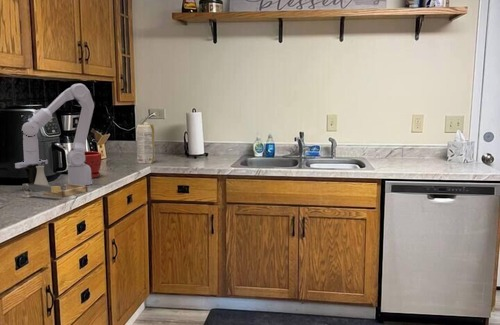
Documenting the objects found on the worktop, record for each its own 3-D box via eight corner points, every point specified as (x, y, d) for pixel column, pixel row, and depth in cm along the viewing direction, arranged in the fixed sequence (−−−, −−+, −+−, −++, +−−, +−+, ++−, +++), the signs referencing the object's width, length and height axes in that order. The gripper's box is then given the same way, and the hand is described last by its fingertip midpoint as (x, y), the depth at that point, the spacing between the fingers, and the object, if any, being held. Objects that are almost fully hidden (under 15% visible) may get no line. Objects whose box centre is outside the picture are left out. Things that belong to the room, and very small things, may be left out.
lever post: (28, 194, 183) (28, 188, 183) (36, 195, 181) (36, 189, 181) (19, 196, 179) (18, 190, 179) (27, 197, 177) (27, 191, 177)
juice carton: (155, 162, 278) (155, 122, 274) (151, 164, 270) (150, 122, 266) (140, 161, 278) (139, 121, 275) (136, 163, 271) (135, 122, 267)
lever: (20, 189, 179) (20, 184, 178) (27, 188, 182) (27, 182, 182) (55, 193, 173) (55, 187, 173) (62, 191, 177) (61, 185, 177)
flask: (53, 188, 197) (52, 164, 195) (46, 191, 190) (45, 167, 188) (36, 188, 196) (35, 164, 195) (28, 191, 189) (27, 167, 188)
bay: (68, 188, 195) (68, 183, 195) (87, 191, 191) (87, 186, 191) (43, 194, 184) (43, 189, 183) (63, 197, 179) (62, 191, 179)
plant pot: (68, 179, 218) (67, 153, 217) (81, 174, 231) (80, 150, 230) (94, 180, 217) (93, 154, 215) (106, 175, 230) (105, 151, 228)
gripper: (38, 148, 201) (40, 179, 203) (9, 152, 188) (11, 185, 190) (50, 149, 198) (52, 180, 200) (21, 153, 185) (23, 186, 187)
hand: (32, 183), depth 195 cm, fingers closed
